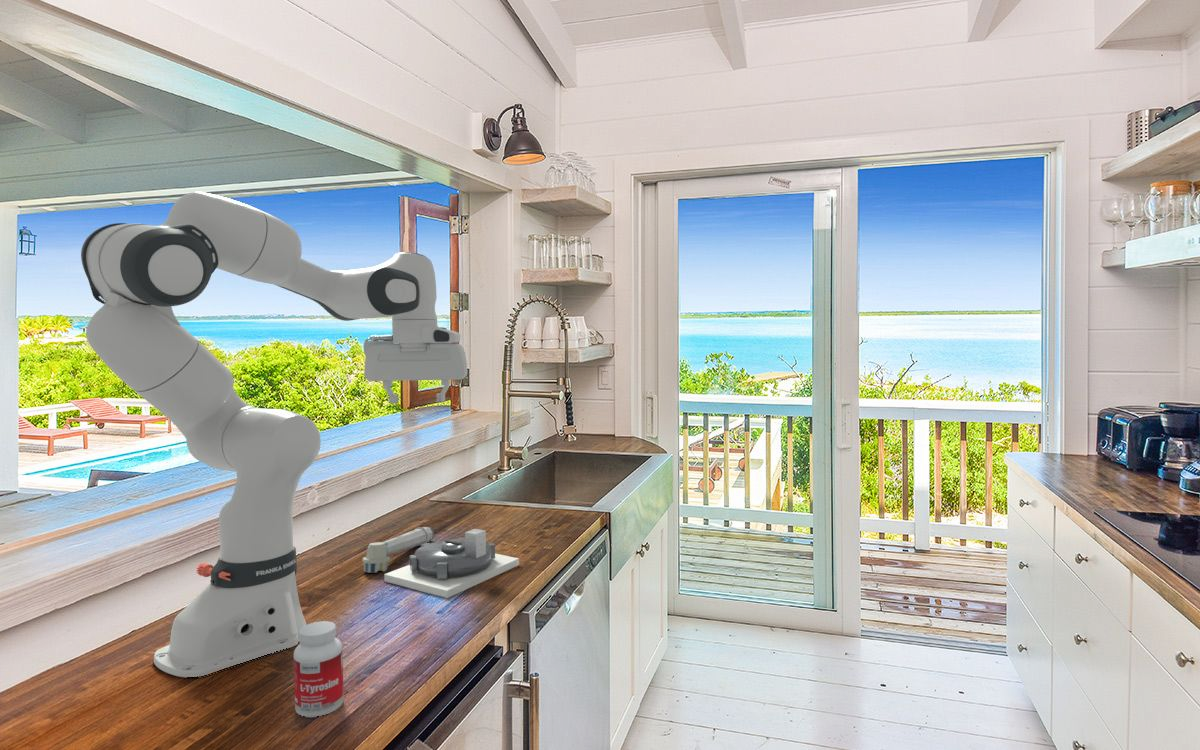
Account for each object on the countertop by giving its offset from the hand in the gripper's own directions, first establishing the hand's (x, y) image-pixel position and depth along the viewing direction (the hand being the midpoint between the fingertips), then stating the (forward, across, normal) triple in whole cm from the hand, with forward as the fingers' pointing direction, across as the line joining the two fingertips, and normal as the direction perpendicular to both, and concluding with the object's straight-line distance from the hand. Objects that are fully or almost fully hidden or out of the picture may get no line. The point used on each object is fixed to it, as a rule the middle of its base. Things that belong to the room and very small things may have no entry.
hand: (417, 402), depth 136 cm
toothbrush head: (+38, -9, +18) cm, 43 cm away
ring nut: (+35, +5, +6) cm, 36 cm away
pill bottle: (+38, -4, -46) cm, 60 cm away
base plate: (+37, +5, +6) cm, 38 cm away
